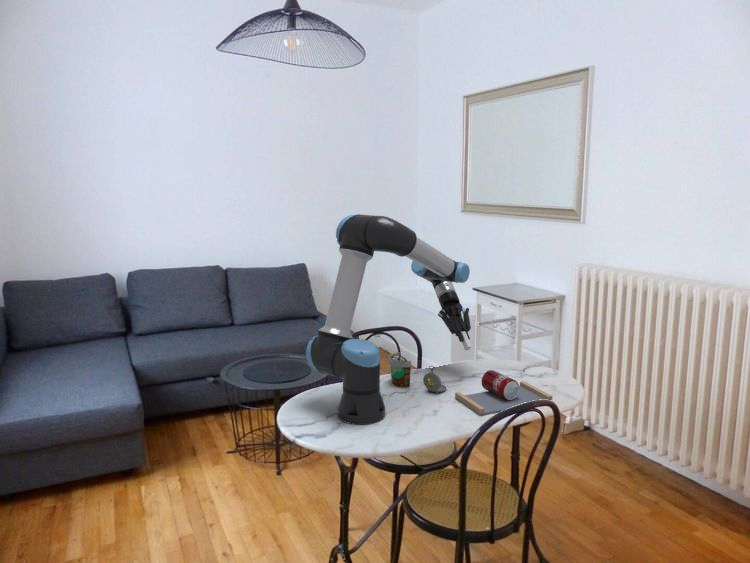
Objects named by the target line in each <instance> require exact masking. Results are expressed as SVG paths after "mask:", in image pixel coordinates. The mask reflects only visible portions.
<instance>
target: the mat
mask: <svg viewBox="0 0 750 563" xmlns="http://www.w3.org/2000/svg"><path fill="white" fill-rule="evenodd" d="M454 399H455V400H457V401H458V402H459V403H461V404H462V405H464V406H465V407H466V408H468V409H469V410H471V411H472V412H473V413H475V414H476V415H478V416H479V417H480V416H482V417H483V416H486V414H487V415H492V414H496V413H501V412H500V411H502V410H505V409H507V408H510V407H512V406H515V405H518V404H521V403H524V402H529V401H532V400H539V399H548V400H552V401H553V395H551V394H549V393H548V392H545V391H543V390H542V389H541V388H538V387H536V386H535V385H532V384H530V383H528V382H527V381H524V380H521V381H519V393H518V395H517V396H516V397H515V398H514V399H513V400H505V399H503V398H501V397H499V396H497V395H495V394H493V393H491V392H489V391H487V390H486V391H481V392H476V393H469V394H463V393H462V392H460V391H456V392H454ZM491 413H492V414H491Z"/></svg>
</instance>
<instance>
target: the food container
mask: <svg viewBox="0 0 750 563" xmlns="http://www.w3.org/2000/svg"><path fill="white" fill-rule="evenodd" d="M388 364H389V365H390V376H391V377H390V378H391V385H393V386H395V387H397V388H410V386H411V368H412V361H411V360H409V361H408V360H407V358H406V357H404V356H402V355H401V352H393V353H392V354H390V355H389V357H388Z"/></svg>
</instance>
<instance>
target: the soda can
mask: <svg viewBox="0 0 750 563" xmlns="http://www.w3.org/2000/svg"><path fill="white" fill-rule="evenodd" d="M481 386H482V388H483V389H484V390H485V391H486V392H487V391H489V392H491V393H493V394H495V395H497V396H499V397H501V398H503V399H505V400H513V399H514V398H515V397H516V396H517V395H518V393H519V386H520V383H518V381H517V380H515V379H513V378H512V377H509V376H508V375H505V374H503V373H500V372H498V371H496V370H493V369H490V370H487V371H486V372H484V373H483V376H482V378H481Z"/></svg>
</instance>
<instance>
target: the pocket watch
mask: <svg viewBox="0 0 750 563" xmlns="http://www.w3.org/2000/svg"><path fill="white" fill-rule="evenodd" d="M428 369H429V370H430V371H429V372H427V373H425V374H424V376H423V379H422V380H423V382H422V383H423V385H424V386H425V388H426V389H427V390H428V391H429V392H431V393H439V394H440V393H443V392H445V391H447V386H445V385H444V384H442V381H441V378H440V376H439V375H438V374H437V373H435V372H434V371H436V367H435V366H433V365H429V366H428Z"/></svg>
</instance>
